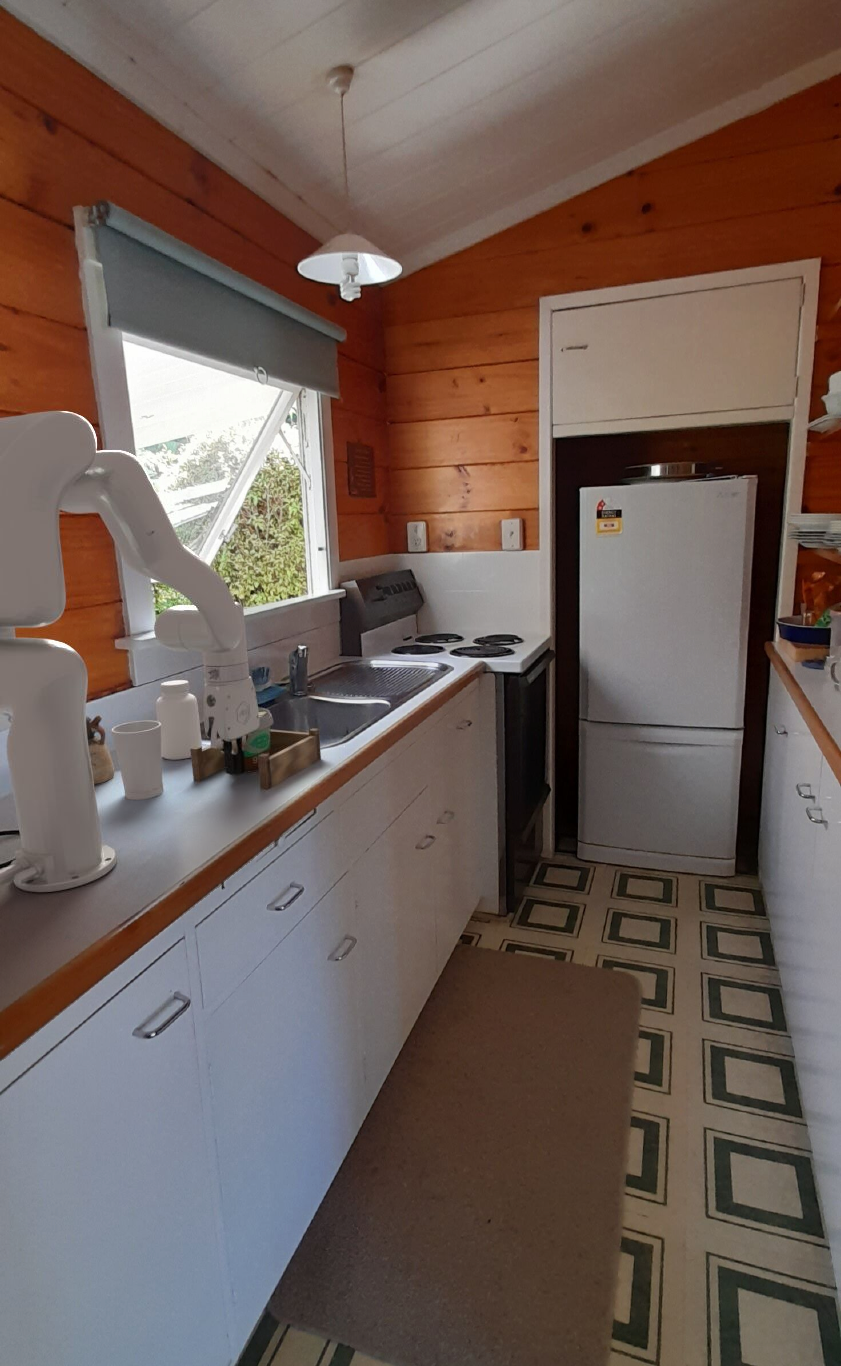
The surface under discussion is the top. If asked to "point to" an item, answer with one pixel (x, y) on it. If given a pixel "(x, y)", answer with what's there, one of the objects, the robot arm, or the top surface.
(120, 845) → the top surface
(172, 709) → the pill bottle
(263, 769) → the crate
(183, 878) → the top surface
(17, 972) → the top surface
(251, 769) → the food container
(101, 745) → the figurine
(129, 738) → the cup
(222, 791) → the top surface
